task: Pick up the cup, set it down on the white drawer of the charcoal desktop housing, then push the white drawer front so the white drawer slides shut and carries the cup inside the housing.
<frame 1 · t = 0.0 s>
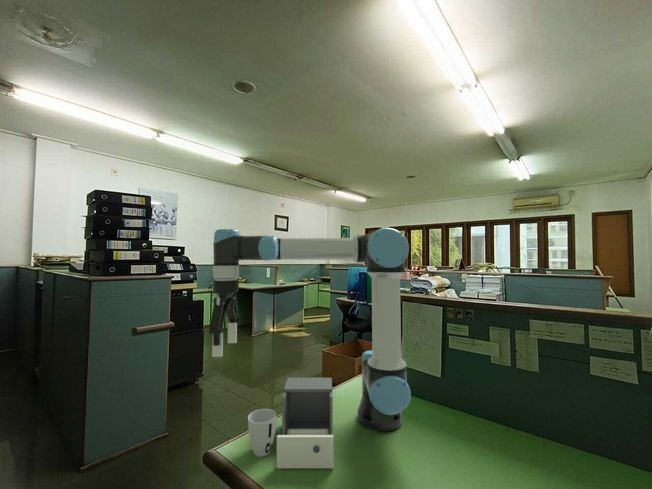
hand: (225, 349, 94), 28 cm above the table, fingers open, 13 cm apart
white drawer: (306, 437, 88), point 4 cm above the table, slide at 8.0 cm
housing: (308, 435, 96), on the table
cup: (262, 451, 89), on the table
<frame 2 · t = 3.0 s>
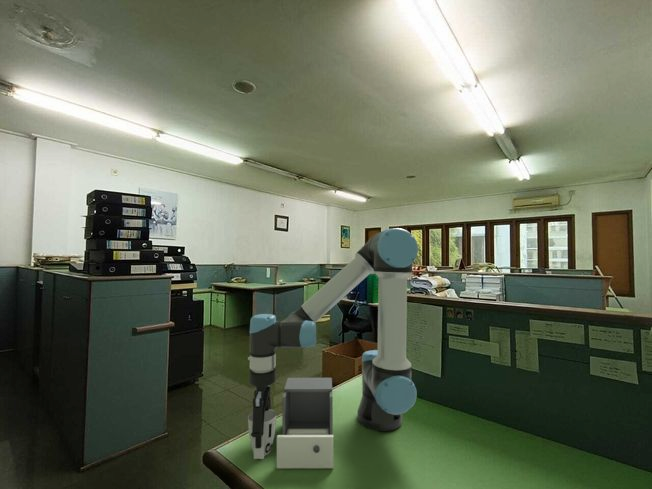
hand: (262, 448, 89), 1 cm above the table, fingers closed on cup, 8 cm apart
cup: (262, 451, 89), on the table, touching gripper
everything else where it was.
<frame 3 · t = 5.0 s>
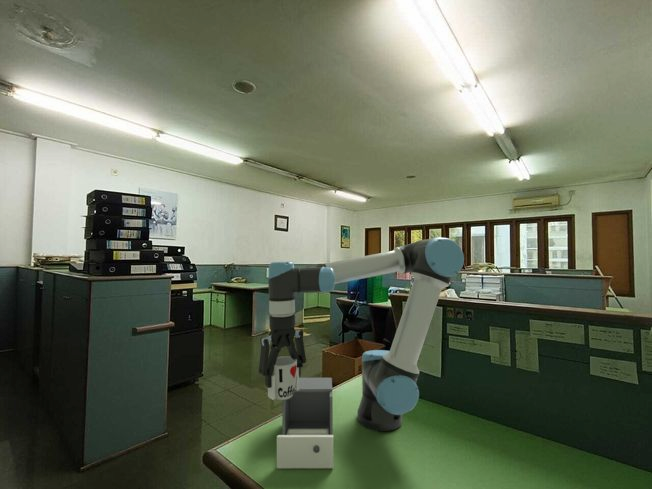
hand: (284, 393, 89), 16 cm above the table, fingers closed on cup, 8 cm apart
cup: (283, 396, 89), point 16 cm above the table, touching gripper
everything else where it was.
when the fingers open (5 cm above the table, at t = 7.2 s): cup drops 2 cm, resting on white drawer.
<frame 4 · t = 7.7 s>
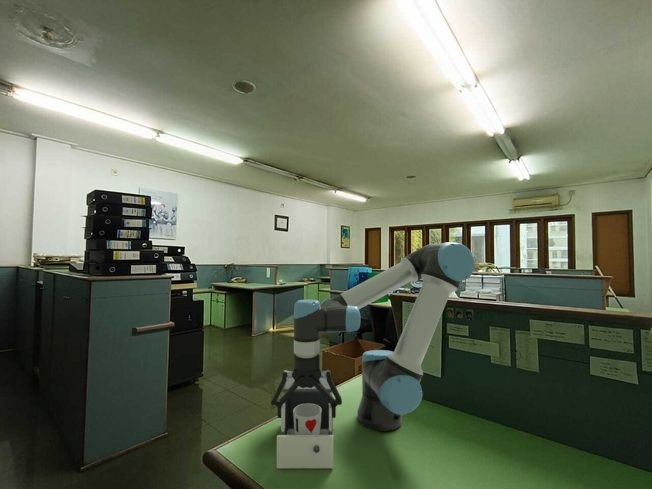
hand: (306, 428, 88), 7 cm above the table, fingers open, 13 cm apart
white drawer: (306, 437, 88), point 4 cm above the table, slide at 8.0 cm, touching cup
cup: (307, 446, 88), point 2 cm above the table, touching white drawer
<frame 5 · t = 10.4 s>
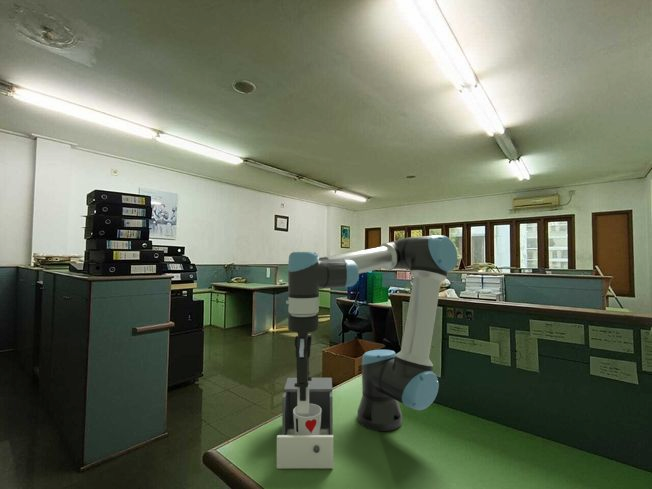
hand: (303, 410, 75), 18 cm above the table, fingers closed
nothing on the table moved.
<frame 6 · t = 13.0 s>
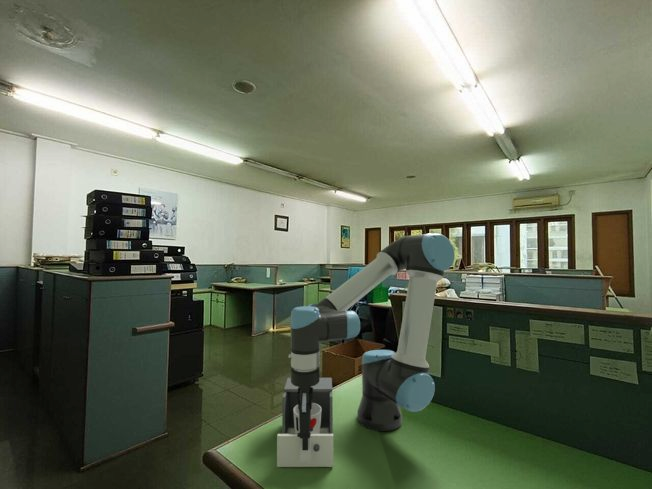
hand: (305, 459, 79), 4 cm above the table, fingers closed
white drawer: (306, 436, 88), point 4 cm above the table, slide at 7.4 cm, touching cup, gripper
everything else where it was.
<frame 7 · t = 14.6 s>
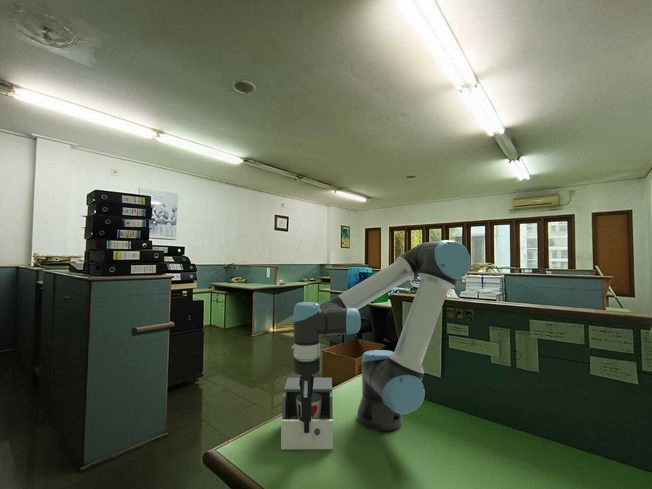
hand: (306, 441, 87), 4 cm above the table, fingers closed
white drawer: (308, 422, 96), point 4 cm above the table, slide at 0.0 cm, touching cup, gripper
cup: (308, 430, 96), point 2 cm above the table, touching white drawer
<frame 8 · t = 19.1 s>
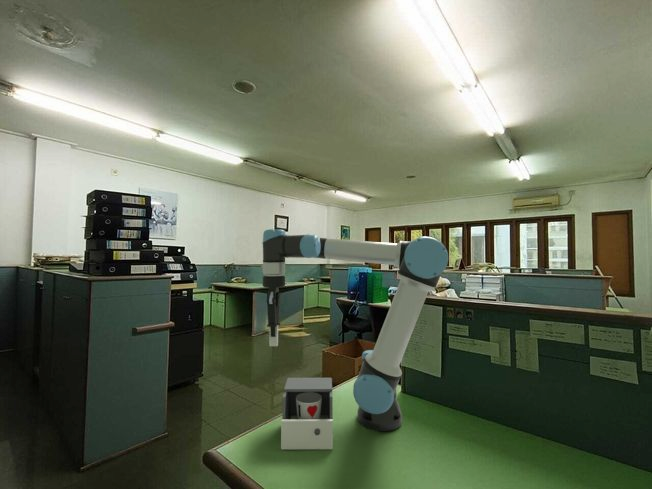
hand: (273, 345, 103), 26 cm above the table, fingers closed
white drawer: (308, 422, 96), point 4 cm above the table, slide at 0.0 cm, touching cup
everything else where it was.
at the end: white drawer slide at 0.0 cm; cup inside the target area on the housing (1.3 cm from its centre), point 1.8 cm above the housing's base; cup tilted 0° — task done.
